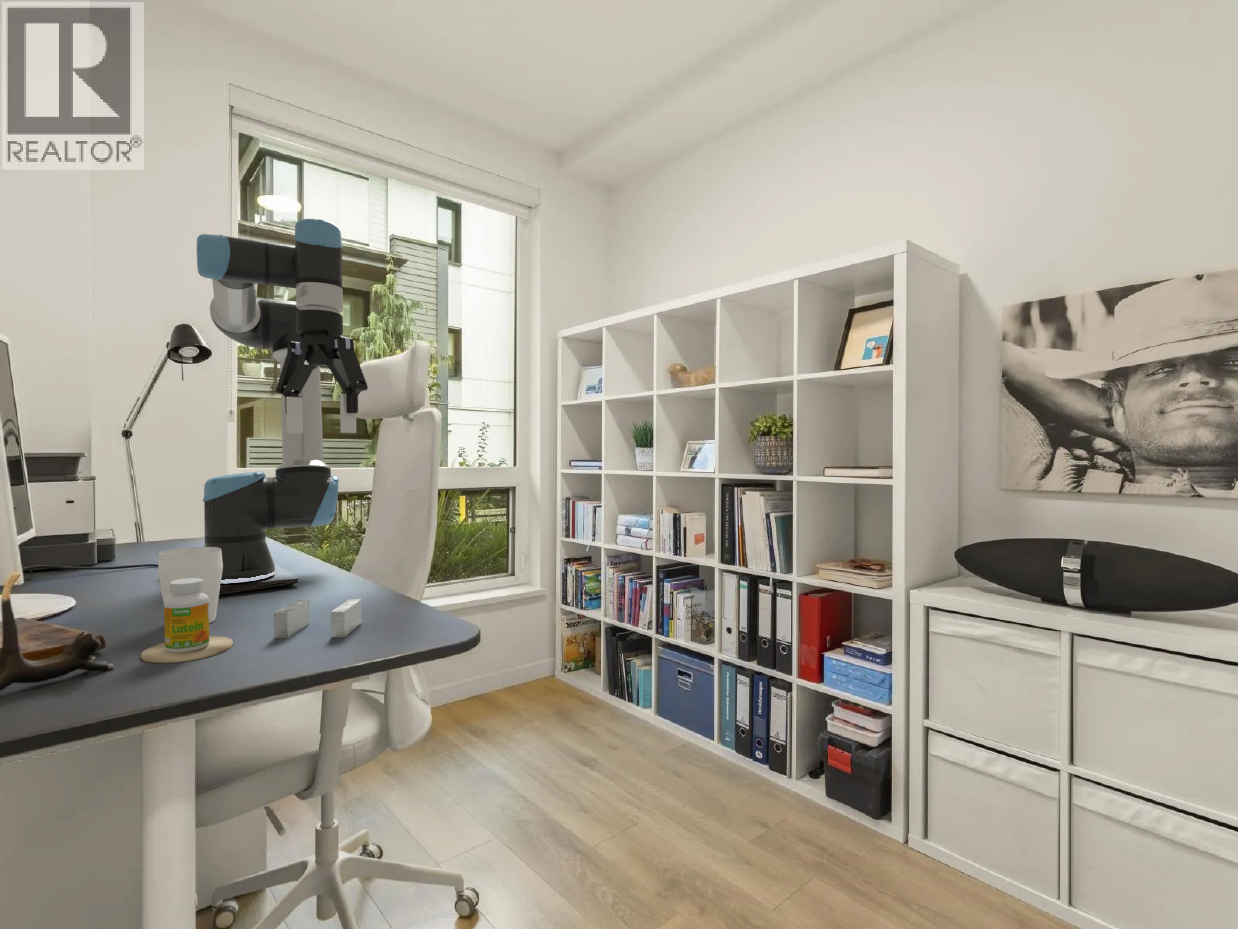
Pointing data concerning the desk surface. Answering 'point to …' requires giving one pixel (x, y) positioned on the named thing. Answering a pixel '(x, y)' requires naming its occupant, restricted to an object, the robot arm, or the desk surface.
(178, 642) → the supplement bottle
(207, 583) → the cup
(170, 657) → the coaster
